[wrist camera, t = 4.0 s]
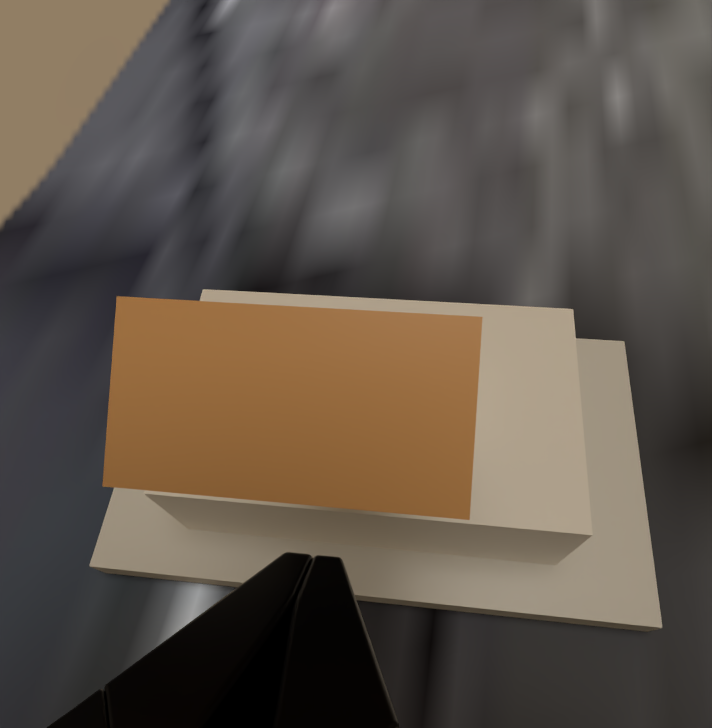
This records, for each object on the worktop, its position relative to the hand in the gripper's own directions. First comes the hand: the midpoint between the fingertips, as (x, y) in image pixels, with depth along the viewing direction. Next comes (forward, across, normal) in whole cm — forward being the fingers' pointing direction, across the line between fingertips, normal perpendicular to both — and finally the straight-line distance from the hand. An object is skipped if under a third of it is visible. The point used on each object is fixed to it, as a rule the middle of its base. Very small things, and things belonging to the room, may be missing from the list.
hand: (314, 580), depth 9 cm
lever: (+9, 0, 0) cm, 9 cm away
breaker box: (+13, 0, +4) cm, 13 cm away
